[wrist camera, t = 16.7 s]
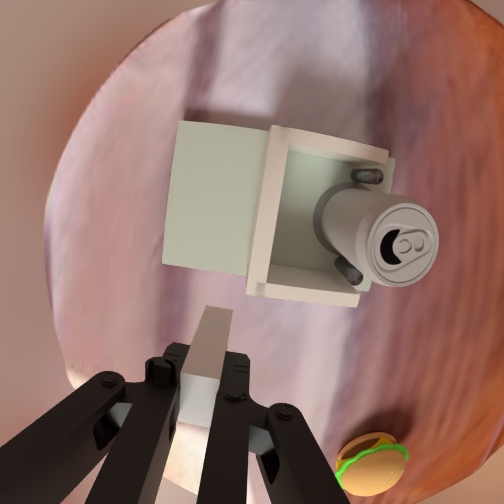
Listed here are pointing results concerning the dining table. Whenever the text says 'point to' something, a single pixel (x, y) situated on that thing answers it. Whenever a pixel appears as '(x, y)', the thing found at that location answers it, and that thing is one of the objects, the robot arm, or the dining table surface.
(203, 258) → the board
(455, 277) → the dining table surface
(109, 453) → the robot arm
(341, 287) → the housing
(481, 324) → the dining table surface
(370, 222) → the beverage can
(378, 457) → the hamburger
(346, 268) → the pins
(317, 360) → the dining table surface
